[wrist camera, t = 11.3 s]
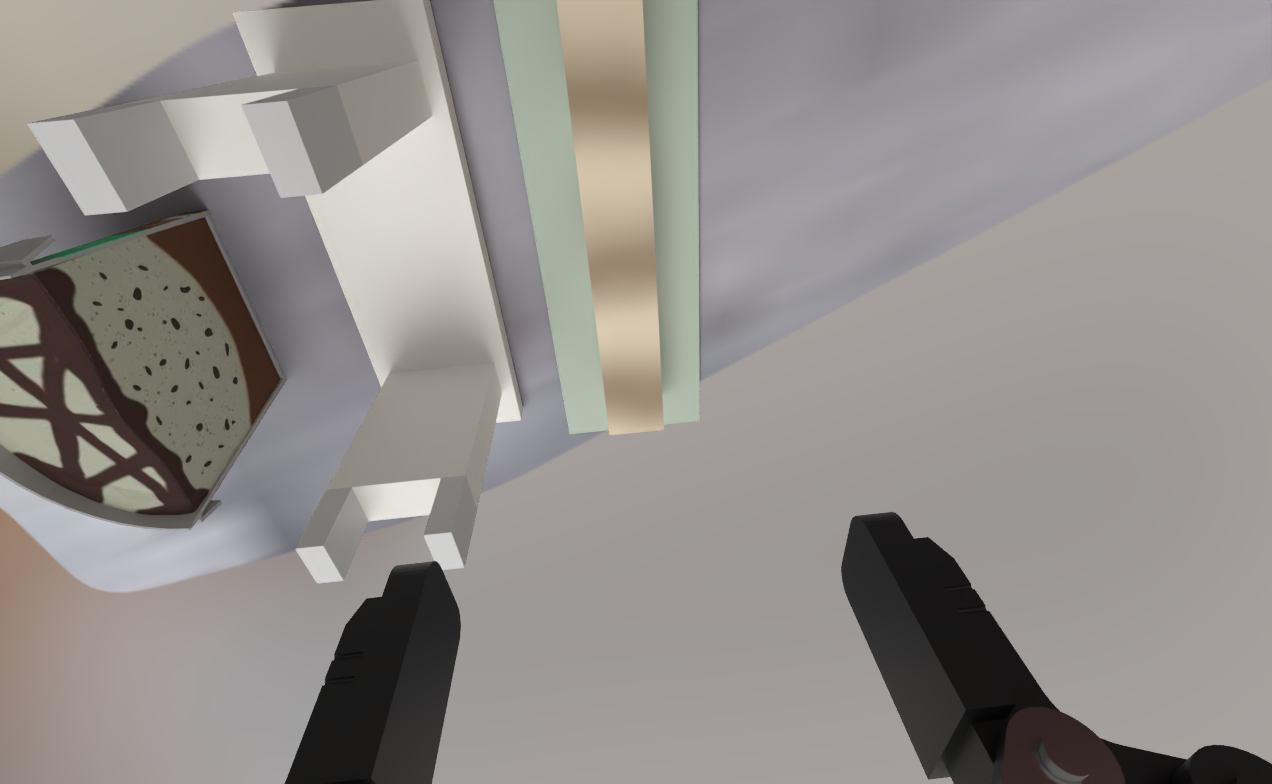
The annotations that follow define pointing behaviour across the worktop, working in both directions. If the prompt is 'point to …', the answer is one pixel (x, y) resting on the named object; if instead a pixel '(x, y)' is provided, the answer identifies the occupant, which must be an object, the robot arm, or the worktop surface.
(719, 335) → the worktop surface
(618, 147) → the rail
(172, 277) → the food container
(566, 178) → the mat
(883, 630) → the robot arm
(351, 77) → the rack
